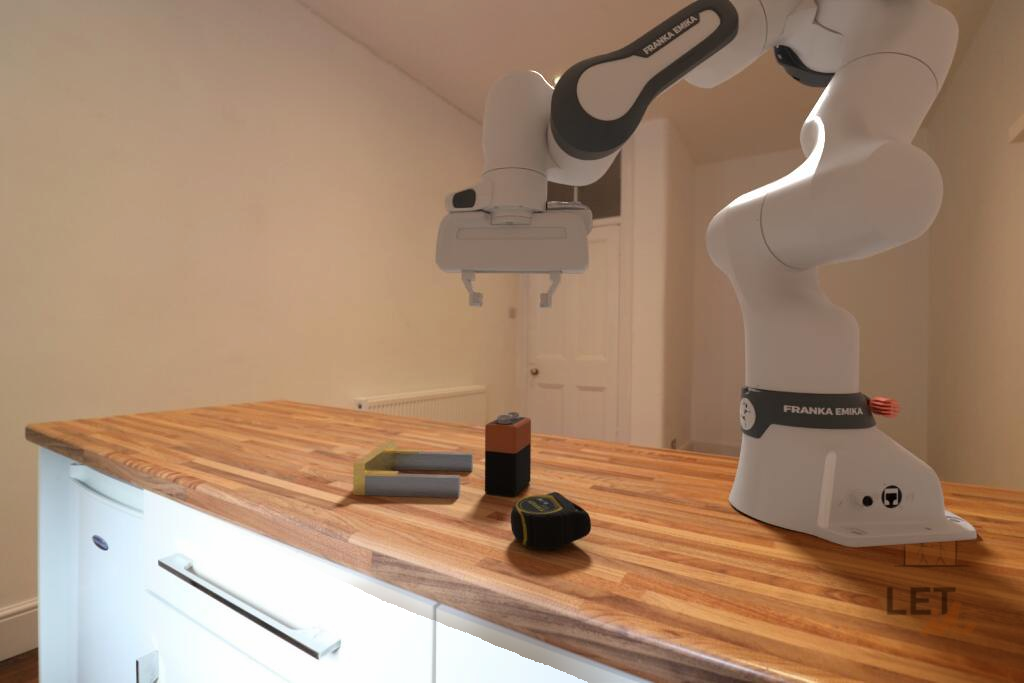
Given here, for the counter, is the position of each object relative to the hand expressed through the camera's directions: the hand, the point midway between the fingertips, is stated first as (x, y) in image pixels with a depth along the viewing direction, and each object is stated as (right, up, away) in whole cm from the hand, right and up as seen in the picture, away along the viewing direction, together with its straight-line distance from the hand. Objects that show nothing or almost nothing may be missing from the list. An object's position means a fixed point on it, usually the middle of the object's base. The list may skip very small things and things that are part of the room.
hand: (510, 307), depth 59 cm
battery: (0, -25, +1) cm, 25 cm away
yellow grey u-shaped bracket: (-12, -24, +3) cm, 27 cm away
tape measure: (+7, -24, -16) cm, 30 cm away
